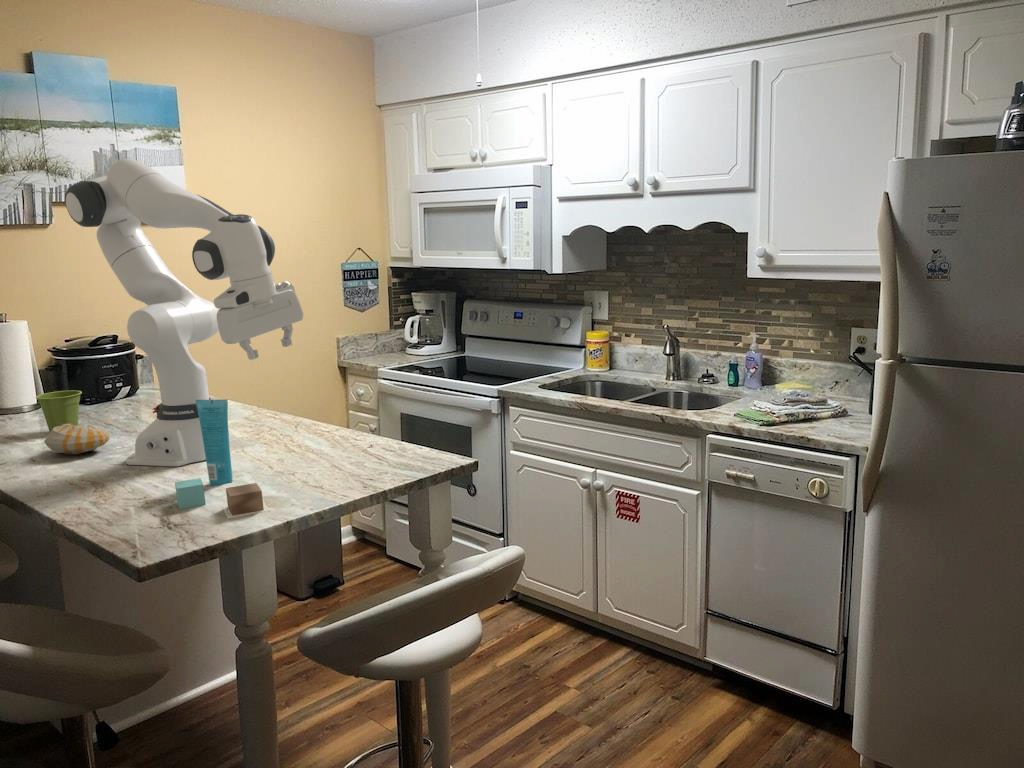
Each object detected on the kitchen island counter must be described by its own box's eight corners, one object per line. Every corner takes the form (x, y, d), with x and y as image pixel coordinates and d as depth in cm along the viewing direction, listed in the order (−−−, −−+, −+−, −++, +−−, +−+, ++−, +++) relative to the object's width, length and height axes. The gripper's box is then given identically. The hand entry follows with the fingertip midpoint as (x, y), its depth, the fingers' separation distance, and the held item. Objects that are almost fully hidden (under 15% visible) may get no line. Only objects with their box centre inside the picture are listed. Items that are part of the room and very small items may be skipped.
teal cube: (180, 512, 169) (177, 488, 168) (177, 505, 173) (174, 482, 172) (206, 507, 171) (203, 484, 170) (203, 500, 175) (200, 478, 174)
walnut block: (232, 515, 163) (230, 496, 162) (227, 507, 168) (225, 488, 168) (263, 510, 166) (261, 490, 165) (258, 501, 171) (256, 482, 170)
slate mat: (199, 522, 162) (198, 519, 162) (224, 502, 174) (223, 499, 173) (269, 521, 161) (269, 518, 161) (289, 500, 173) (289, 497, 172)
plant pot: (81, 434, 239) (76, 396, 237) (36, 438, 236) (30, 400, 234) (91, 425, 250) (86, 388, 248) (48, 429, 248) (42, 392, 246)
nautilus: (43, 449, 226) (104, 442, 234) (46, 462, 208) (112, 454, 216) (40, 420, 225) (102, 414, 233) (43, 430, 207) (110, 424, 215)
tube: (241, 479, 189) (231, 396, 185) (233, 486, 184) (223, 401, 180) (208, 480, 189) (199, 397, 185) (200, 487, 184) (189, 402, 181)
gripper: (282, 280, 189) (297, 339, 193) (206, 302, 173) (224, 366, 177) (300, 278, 185) (315, 338, 189) (224, 301, 169) (243, 366, 173)
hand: (271, 352), depth 183 cm, fingers open, 8 cm apart
